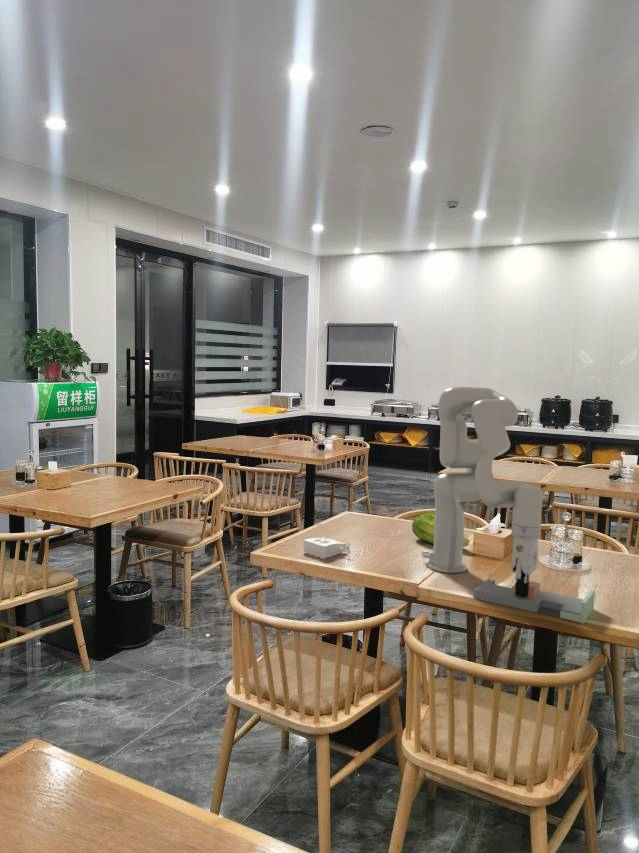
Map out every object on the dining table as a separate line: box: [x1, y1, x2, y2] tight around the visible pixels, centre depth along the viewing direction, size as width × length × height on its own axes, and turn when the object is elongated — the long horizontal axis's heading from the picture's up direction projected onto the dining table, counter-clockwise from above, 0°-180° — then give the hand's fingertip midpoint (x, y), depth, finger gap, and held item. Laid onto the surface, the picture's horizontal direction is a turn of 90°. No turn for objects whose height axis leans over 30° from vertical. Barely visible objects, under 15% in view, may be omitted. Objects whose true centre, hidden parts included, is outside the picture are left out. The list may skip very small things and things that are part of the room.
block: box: [514, 580, 541, 598], centre depth 181 cm, size 6×6×3 cm
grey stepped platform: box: [472, 578, 596, 624], centre depth 180 cm, size 30×13×6 cm, turn 56°
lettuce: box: [411, 512, 470, 548], centre depth 239 cm, size 12×24×13 cm
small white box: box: [302, 533, 351, 559], centre depth 224 cm, size 8×20×16 cm
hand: (521, 595), depth 177 cm, fingers closed
